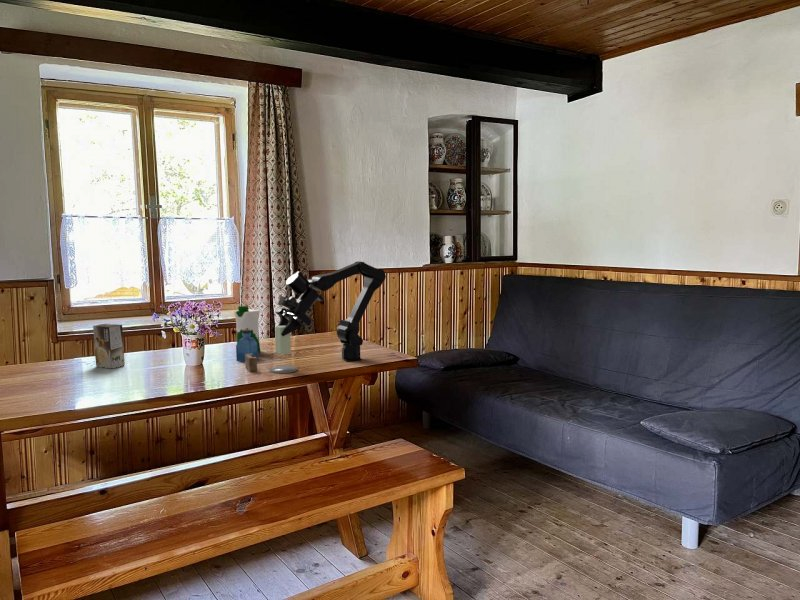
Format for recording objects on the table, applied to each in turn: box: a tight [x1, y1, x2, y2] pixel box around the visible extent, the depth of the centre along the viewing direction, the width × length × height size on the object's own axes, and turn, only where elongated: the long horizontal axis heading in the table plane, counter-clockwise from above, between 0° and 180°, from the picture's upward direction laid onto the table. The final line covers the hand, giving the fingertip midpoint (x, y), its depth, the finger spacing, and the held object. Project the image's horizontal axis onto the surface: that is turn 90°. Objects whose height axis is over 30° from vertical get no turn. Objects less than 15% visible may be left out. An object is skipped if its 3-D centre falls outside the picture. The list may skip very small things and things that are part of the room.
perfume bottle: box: [235, 329, 259, 362], centre depth 245 cm, size 6×6×12 cm
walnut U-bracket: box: [244, 354, 258, 373], centre depth 228 cm, size 3×9×5 cm, turn 24°
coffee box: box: [92, 323, 126, 369], centre depth 234 cm, size 9×6×16 cm
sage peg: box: [274, 325, 292, 356], centre depth 225 cm, size 4×4×10 cm
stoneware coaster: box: [269, 365, 298, 374], centre depth 226 cm, size 10×10×1 cm
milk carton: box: [233, 305, 261, 353], centre depth 258 cm, size 9×9×20 cm
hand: (279, 334), depth 224 cm, fingers closed on sage peg, 4 cm apart
